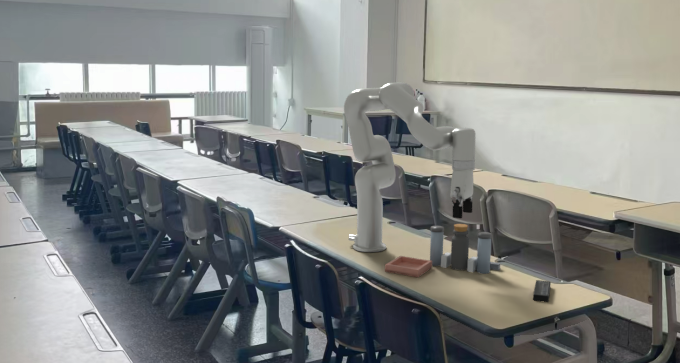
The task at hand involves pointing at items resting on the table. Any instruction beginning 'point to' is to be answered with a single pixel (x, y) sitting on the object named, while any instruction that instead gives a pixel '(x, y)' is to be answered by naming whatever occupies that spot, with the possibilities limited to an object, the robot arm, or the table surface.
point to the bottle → (460, 247)
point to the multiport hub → (541, 291)
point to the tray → (408, 266)
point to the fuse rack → (474, 263)
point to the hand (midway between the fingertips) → (462, 215)
